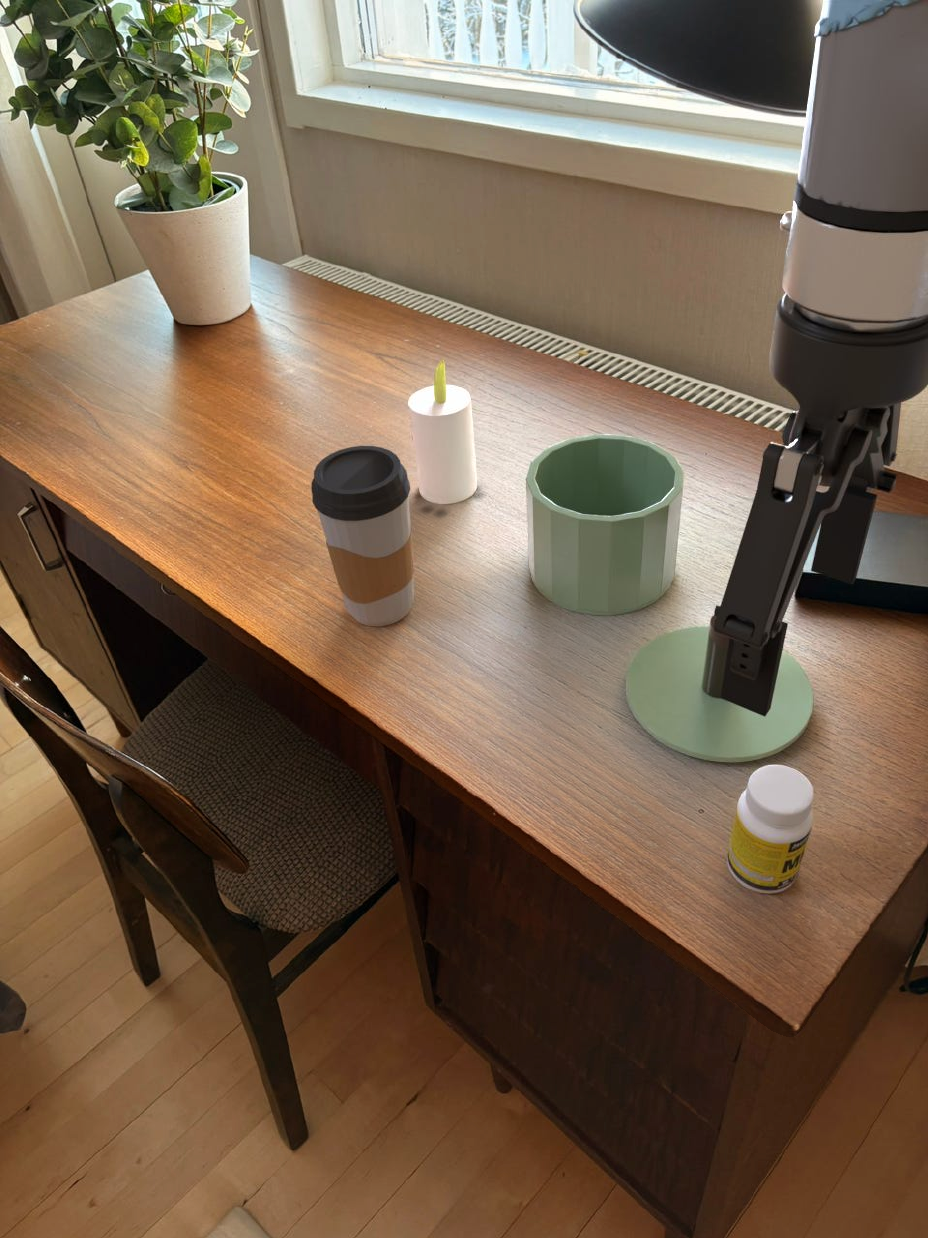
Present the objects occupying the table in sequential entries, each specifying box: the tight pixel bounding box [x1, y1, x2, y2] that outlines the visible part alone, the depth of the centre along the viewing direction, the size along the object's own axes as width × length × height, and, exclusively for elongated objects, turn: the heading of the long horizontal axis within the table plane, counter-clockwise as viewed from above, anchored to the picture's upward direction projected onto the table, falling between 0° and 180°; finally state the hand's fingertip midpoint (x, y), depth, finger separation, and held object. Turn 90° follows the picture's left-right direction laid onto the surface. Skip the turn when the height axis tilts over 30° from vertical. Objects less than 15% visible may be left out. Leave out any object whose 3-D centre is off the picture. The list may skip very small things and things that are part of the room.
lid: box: [625, 614, 814, 763], centre depth 74 cm, size 15×15×8 cm
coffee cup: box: [310, 445, 415, 627], centre depth 83 cm, size 8×8×15 cm
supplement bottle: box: [726, 764, 815, 895], centre depth 62 cm, size 5×5×8 cm
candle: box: [407, 359, 478, 505], centre depth 97 cm, size 6×6×15 cm
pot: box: [525, 433, 685, 616], centre depth 86 cm, size 14×14×10 cm
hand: (792, 635), depth 58 cm, fingers open, 13 cm apart
